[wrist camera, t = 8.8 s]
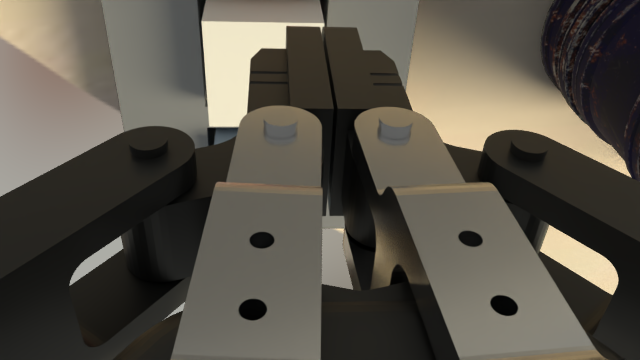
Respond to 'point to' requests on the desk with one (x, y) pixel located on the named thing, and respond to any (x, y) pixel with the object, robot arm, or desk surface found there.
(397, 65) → the key console
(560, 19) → the storage jar
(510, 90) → the desk surface
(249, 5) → the white key
